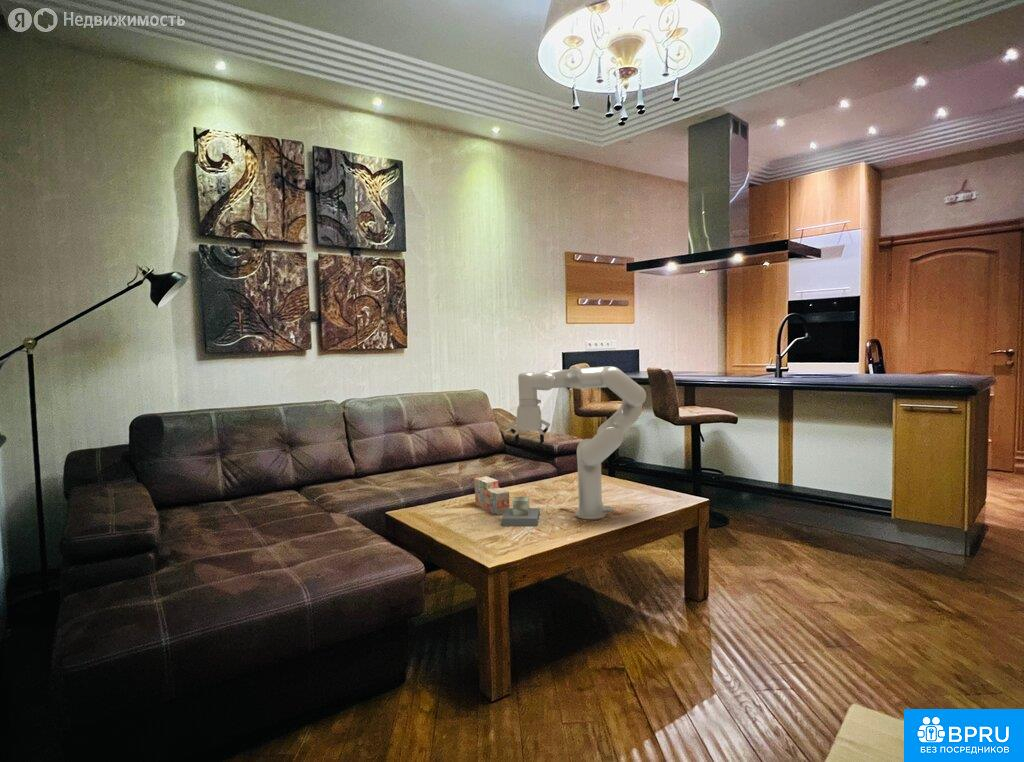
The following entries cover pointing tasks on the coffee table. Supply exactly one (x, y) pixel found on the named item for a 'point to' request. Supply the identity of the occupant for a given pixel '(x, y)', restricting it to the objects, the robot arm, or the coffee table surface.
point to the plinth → (521, 518)
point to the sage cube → (521, 506)
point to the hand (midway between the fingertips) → (529, 444)
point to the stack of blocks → (491, 495)
